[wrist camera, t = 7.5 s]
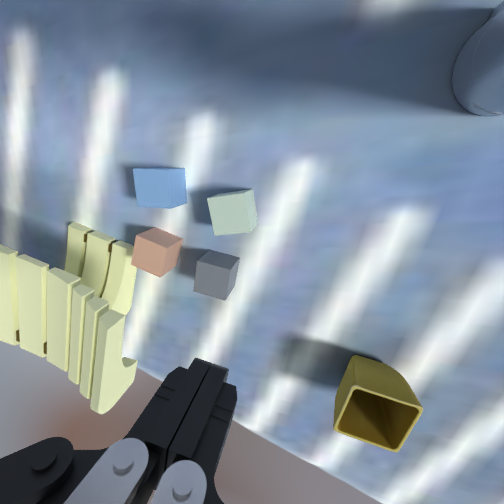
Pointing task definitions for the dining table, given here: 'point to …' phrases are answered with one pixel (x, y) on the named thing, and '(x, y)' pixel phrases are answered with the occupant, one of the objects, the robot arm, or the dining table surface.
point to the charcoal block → (216, 274)
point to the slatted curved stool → (74, 311)
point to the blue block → (160, 187)
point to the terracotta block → (156, 251)
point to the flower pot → (375, 404)
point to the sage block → (233, 212)
